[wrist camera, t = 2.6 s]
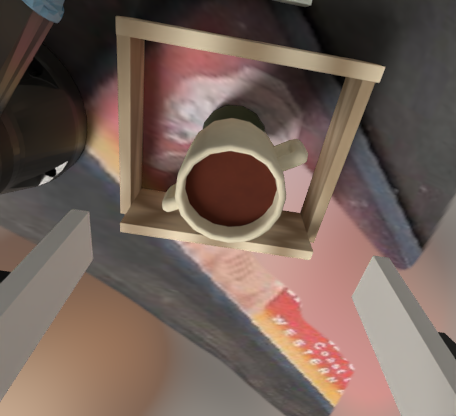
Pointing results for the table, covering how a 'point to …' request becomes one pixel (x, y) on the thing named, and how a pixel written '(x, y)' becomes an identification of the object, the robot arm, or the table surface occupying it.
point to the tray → (297, 2)
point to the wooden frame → (191, 38)
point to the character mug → (233, 177)
